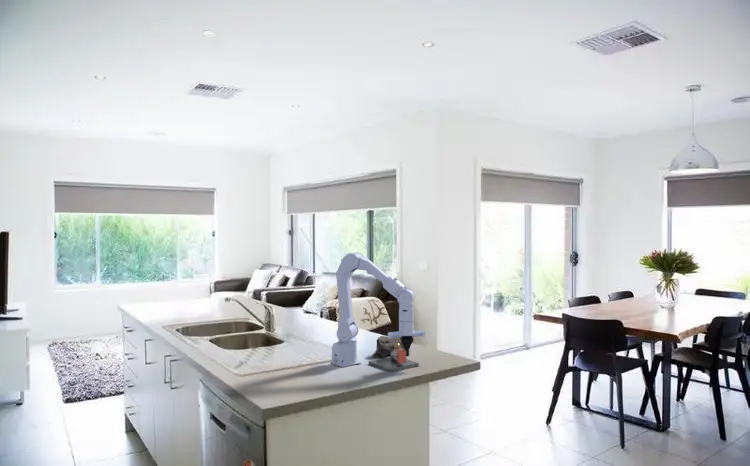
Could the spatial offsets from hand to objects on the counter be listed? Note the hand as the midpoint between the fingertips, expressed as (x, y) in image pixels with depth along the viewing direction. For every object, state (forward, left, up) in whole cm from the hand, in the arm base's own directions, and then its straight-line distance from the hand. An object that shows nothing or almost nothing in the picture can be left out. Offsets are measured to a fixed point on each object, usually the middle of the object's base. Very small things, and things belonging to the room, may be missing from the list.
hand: (406, 355), depth 201 cm
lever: (-1, +5, -3) cm, 6 cm away
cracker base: (-2, +6, -5) cm, 8 cm away
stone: (+8, +21, -5) cm, 23 cm away
